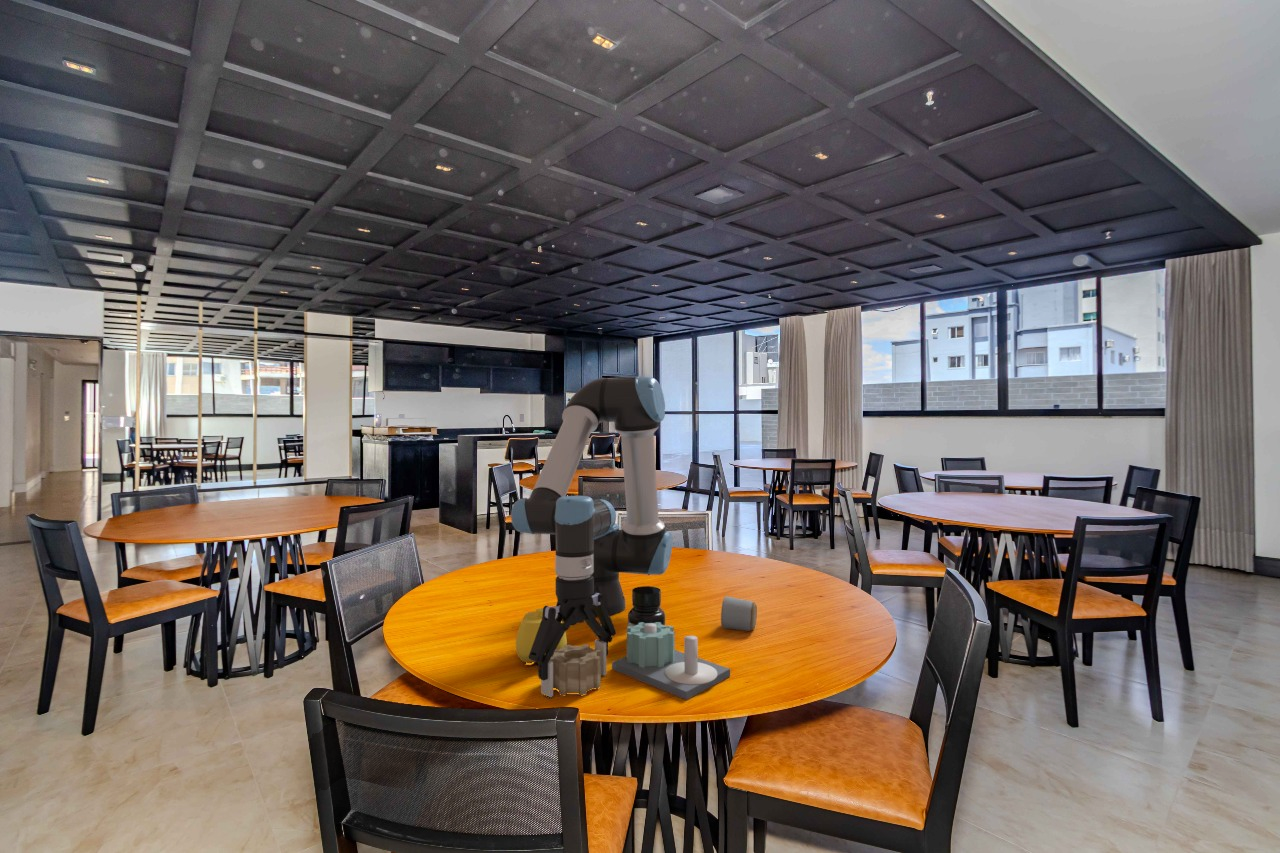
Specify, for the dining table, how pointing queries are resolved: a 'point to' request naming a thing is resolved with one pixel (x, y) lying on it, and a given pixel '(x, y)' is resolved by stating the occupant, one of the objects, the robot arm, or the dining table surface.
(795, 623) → the dining table surface
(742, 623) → the ceramic mug
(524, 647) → the teapot
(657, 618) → the ink bottle
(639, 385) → the robot arm
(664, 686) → the gear board
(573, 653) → the birch gear
